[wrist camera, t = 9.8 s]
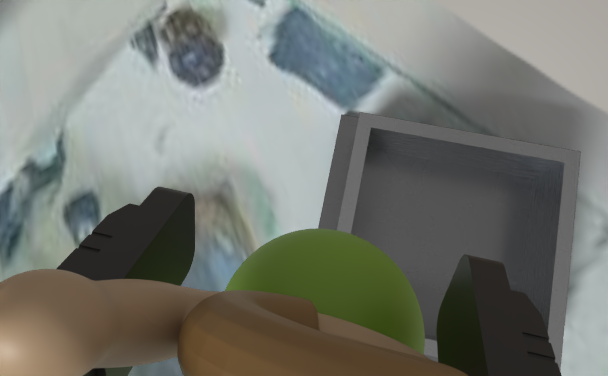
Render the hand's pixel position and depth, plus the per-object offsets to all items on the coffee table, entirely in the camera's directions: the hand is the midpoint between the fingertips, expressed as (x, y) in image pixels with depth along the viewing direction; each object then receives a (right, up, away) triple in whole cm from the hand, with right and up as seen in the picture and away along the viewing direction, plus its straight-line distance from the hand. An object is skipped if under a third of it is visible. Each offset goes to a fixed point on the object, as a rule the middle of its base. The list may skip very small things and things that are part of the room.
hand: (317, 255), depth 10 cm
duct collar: (+8, -2, +20) cm, 22 cm away
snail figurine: (0, -3, +5) cm, 6 cm away
